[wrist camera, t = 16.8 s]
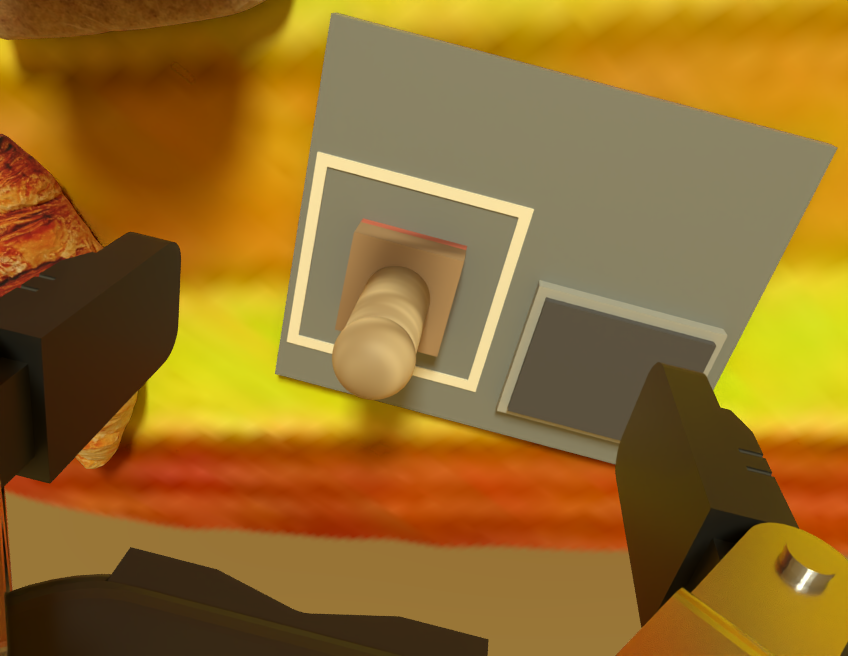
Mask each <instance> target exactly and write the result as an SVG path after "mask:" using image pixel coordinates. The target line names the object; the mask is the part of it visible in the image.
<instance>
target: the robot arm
mask: <svg viewBox="0 0 848 656" xmlns="http://www.w3.org/2000/svg"><path fill="white" fill-rule="evenodd" d="M180 271H181V253H180V249H179V246H178V245H177V244H176V243H175V242H171V241H167V240H163V239H159V238H155V237H150V236H146V235H142V234H138V233H134V232H128V233H126V234H125V235H123V236H122V237H120V238H119V239H117V240H115V241H114V242H112V243H111V244H109V245H108V246H106V247H104V248H103V249H101V250H100V251H98V252H97V253H95V252H90V253H86V254H82V255H79V256H75V257H71V258H68V259H64V260H61V261H59V262H58V263H56V264H54V265H53V266H51V267H49V268H48V269H46V270H44V271H43V272H41V273H40V274H39V277H36V276H35V277H33V278H31V279H30V280H28V281H26V282H25V283H23V284H21V288H15V289H13V290H12V291H10V292H8V293H7V294H5V295H3V296H2V297H0V656H487V654H488V639H484V638H481V637H477V636H473V635H469V634H465V633H461V632H457V631H454V630H449V629H446V628H442V627H438V626H434V625H430V624H426V623H422V622H419V621H415V620H411V619H406V618H403V617H396V616H366V615H335V614H333V615H332V614H309V613H302V612H299V611H296V610H294V609H292V608H290V607H288V606H286V605H284V604H282V603H280V602H278V601H276V600H274V599H272V598H271V597H269V596H267V595H264V594H263V593H261V592H259V591H257V590H255V589H253V588H252V587H250V586H248V585H246V584H244V583H242V582H240V581H238V580H236V579H234V578H232V577H231V576H228V575H226V574H225V573H223V572H221V571H219V570H217V569H213V568H209V567H205V566H201V565H197V564H194V563H190V562H186V561H182V560H178V559H174V558H170V557H166V556H162V555H158V554H155V553H151V552H147V551H143V550H139V549H135V548H131V547H130V549H129V550H128V552H127V553H126V555H125V556H124V557H123V559H122V560H121V562H120V563H119V565H118V566H117V568H116V569H115V570H114V572H113V573H112V574H96V575H80V576H71V577H65V578H59V579H53V580H48V581H44V582H40V583H36V584H32V585H28V586H25V587H22V588H19V589H16V590H13V589H12V575H11V562H10V549H9V537H8V523H7V510H6V498H5V488H4V486H5V485H6V484H7V483H8V482H9V481H10V480H11V479H12V478H13V477H14V476H15V475H18V476H22V477H26V478H30V479H34V480H38V481H42V482H46V483H51V482H52V481H53V480H54V479H55V478H56V477H57V476H58V475H59V474H60V473H61V472H62V470H63V469H64V468H65V467H66V466H67V465H68V464H69V463H70V462H71V461H72V460H73V459H74V458H75V457H76V456H77V455H78V454H79V452H80V451H81V450H82V449H83V448H84V447H85V446H86V445H87V444H88V443H89V442H90V441H91V440H92V439H93V438H94V437H95V436H96V434H97V433H98V432H99V431H100V430H101V429H102V428H103V427H104V426H105V425H106V424H107V423H108V422H109V421H110V420H111V419H112V417H113V416H114V415H115V414H116V413H117V412H118V411H119V410H120V409H121V408H122V407H123V406H124V405H125V404H126V403H127V402H128V401H129V399H130V398H131V397H132V396H133V395H134V394H135V393H136V392H137V391H138V390H139V389H140V388H141V387H142V386H143V385H144V384H145V383H146V381H147V380H148V379H149V378H150V377H151V376H152V375H153V374H154V373H155V372H156V371H157V370H158V369H159V368H160V367H161V366H162V365H163V363H164V362H165V361H166V360H167V358H168V357H169V355H170V353H171V351H172V349H173V346H174V344H175V340H176V336H177V331H178V318H179V294H180ZM762 456H763V453H762V451H761V449H760V447H759V445H758V442H757V440H756V438H755V436H754V434H753V432H752V431H751V430H750V429H749V428H748V427H747V426H746V425H745V424H744V423H743V422H742V421H741V420H740V419H739V418H738V417H737V416H736V415H735V414H734V413H733V412H732V411H731V410H728V409H724V408H720V406H719V403H718V401H717V399H716V397H715V394H714V392H713V390H712V387H711V385H710V383H709V381H708V378H707V376H706V375H705V374H704V373H701V372H697V371H693V370H689V369H685V368H681V367H677V366H673V365H669V364H664V363H660V362H657V363H656V364H655V365H654V366H653V367H652V368H651V370H650V372H649V374H648V376H647V378H646V380H645V383H644V385H643V388H642V390H641V392H640V395H639V397H638V400H637V402H636V404H635V407H634V409H633V412H632V414H631V416H630V419H629V421H628V424H627V426H626V428H625V431H624V433H623V436H622V438H621V441H620V444H619V448H618V452H617V457H616V467H615V474H616V481H617V486H618V492H619V498H620V504H621V510H622V516H623V522H624V528H625V534H626V540H627V545H628V551H629V556H630V563H631V569H632V574H633V581H634V587H635V592H636V598H637V604H638V610H639V616H640V622H641V629H640V630H639V631H638V632H637V634H636V635H635V636H634V637H633V638H632V639H631V640H630V641H629V642H628V643H627V644H626V645H625V646H624V647H623V648H622V649H621V650H620V651H619V652H618V653H617V654H616V656H848V560H847V559H846V558H845V557H844V556H843V555H842V554H840V553H839V552H838V551H837V550H835V549H834V548H833V547H831V546H830V545H829V544H827V543H826V542H824V541H822V540H821V539H819V538H817V537H815V536H814V535H812V534H810V533H807V532H805V531H803V530H800V529H799V527H798V525H797V523H796V521H795V519H794V517H793V515H792V513H791V511H790V509H789V506H788V504H787V502H786V500H785V498H784V496H783V494H782V492H781V490H780V488H779V486H778V484H777V482H776V480H775V478H774V477H772V476H771V474H772V471H771V469H770V467H769V465H768V463H767V461H766V459H765V458H762Z"/></svg>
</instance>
